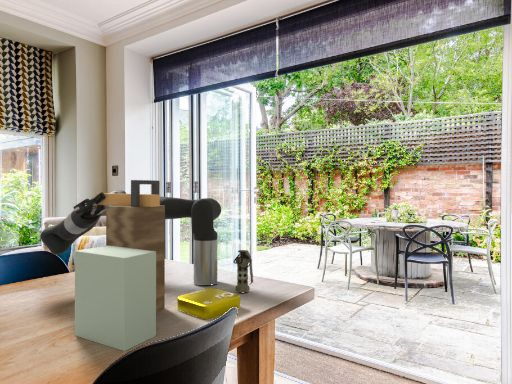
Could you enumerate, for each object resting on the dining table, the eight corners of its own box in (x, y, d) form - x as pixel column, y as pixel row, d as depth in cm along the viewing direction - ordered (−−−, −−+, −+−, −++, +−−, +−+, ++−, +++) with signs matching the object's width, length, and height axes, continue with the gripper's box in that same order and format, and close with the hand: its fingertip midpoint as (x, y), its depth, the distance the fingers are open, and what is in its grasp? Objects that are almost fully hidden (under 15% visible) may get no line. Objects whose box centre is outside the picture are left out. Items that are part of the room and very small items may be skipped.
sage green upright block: (74, 335, 94) (74, 250, 93) (107, 322, 102) (107, 245, 102) (124, 351, 85) (124, 258, 85) (155, 335, 94) (156, 251, 93)
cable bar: (96, 204, 118) (96, 193, 118) (105, 203, 121) (105, 193, 121) (151, 206, 107) (151, 194, 107) (159, 206, 110) (159, 194, 110)
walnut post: (106, 312, 110) (106, 205, 110) (137, 302, 121) (137, 204, 120) (134, 320, 104) (134, 207, 104) (164, 308, 115) (164, 205, 114)
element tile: (210, 299, 126) (210, 285, 126) (243, 308, 116) (243, 293, 116) (174, 310, 114) (174, 295, 114) (207, 322, 105) (207, 305, 104)
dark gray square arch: (130, 206, 107) (130, 180, 106) (154, 205, 115) (154, 180, 115) (135, 207, 106) (135, 180, 105) (159, 205, 114) (159, 180, 114)
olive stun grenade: (230, 294, 130) (231, 251, 130) (240, 289, 137) (240, 248, 136) (246, 296, 127) (246, 253, 127) (256, 291, 134) (256, 250, 133)
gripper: (57, 210, 119) (87, 184, 112) (95, 208, 132) (124, 184, 125) (64, 231, 118) (95, 206, 110) (102, 227, 130) (132, 204, 123)
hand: (110, 194), depth 118 cm, fingers open, 5 cm apart
